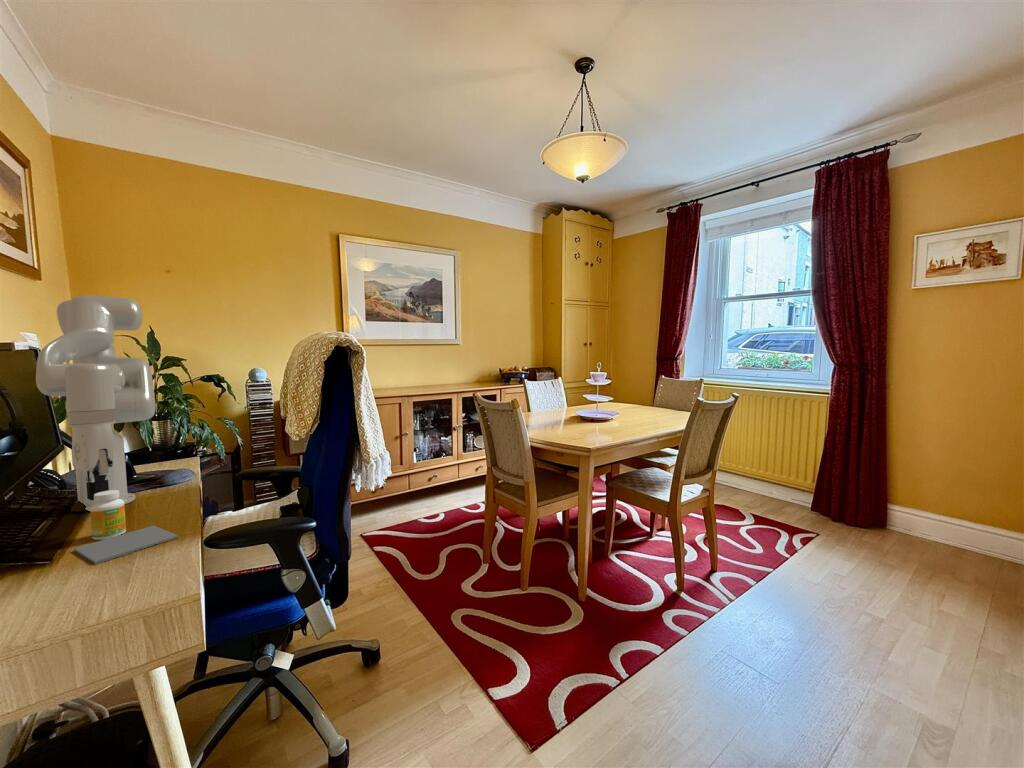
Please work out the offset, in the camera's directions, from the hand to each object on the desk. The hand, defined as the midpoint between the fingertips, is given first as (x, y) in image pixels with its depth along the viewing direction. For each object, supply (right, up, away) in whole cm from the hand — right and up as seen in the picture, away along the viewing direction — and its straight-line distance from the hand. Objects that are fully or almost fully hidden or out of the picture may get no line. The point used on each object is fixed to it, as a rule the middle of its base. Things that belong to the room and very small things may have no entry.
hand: (98, 498), depth 92 cm
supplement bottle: (+4, -8, -2) cm, 9 cm away
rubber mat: (+13, -8, -7) cm, 17 cm away
